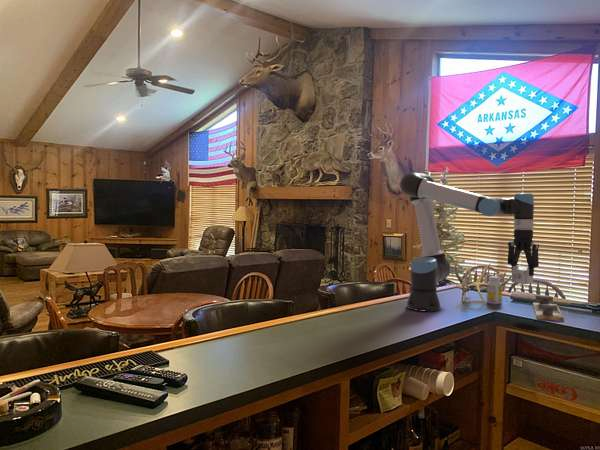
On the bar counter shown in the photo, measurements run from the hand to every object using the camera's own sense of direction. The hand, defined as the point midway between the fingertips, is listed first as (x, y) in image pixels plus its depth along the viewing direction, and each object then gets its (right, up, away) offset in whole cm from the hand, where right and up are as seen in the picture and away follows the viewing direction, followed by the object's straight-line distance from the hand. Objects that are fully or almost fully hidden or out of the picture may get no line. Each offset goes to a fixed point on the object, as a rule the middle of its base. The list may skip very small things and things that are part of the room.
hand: (522, 281), depth 196 cm
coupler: (0, 0, 0) cm, 0 cm away
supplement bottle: (-1, -14, +25) cm, 29 cm away
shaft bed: (+14, -14, +5) cm, 21 cm away
